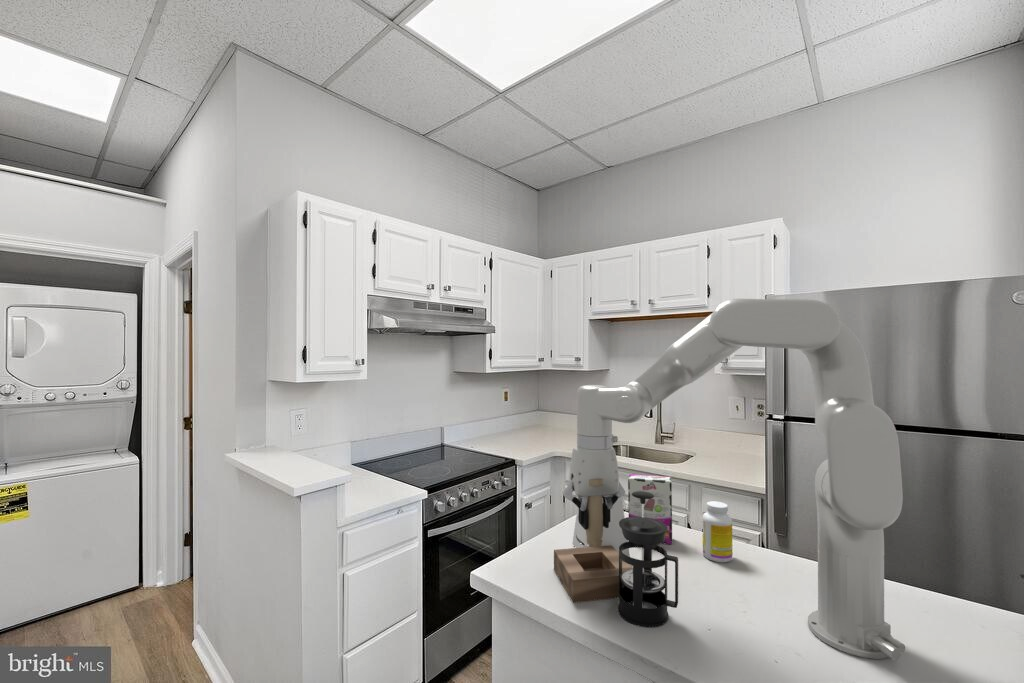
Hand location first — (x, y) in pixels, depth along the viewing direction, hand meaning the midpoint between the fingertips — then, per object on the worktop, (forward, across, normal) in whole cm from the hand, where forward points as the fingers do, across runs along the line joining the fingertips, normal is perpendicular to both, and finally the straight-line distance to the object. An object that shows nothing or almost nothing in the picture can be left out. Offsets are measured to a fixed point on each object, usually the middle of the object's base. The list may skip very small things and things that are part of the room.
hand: (594, 525), depth 100 cm
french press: (+12, -5, +13) cm, 19 cm away
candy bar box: (+12, -23, -19) cm, 32 cm away
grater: (+12, -7, -14) cm, 20 cm away
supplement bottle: (+12, -34, -6) cm, 37 cm away
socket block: (+12, 0, 0) cm, 12 cm away
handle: (+4, 0, 0) cm, 4 cm away
